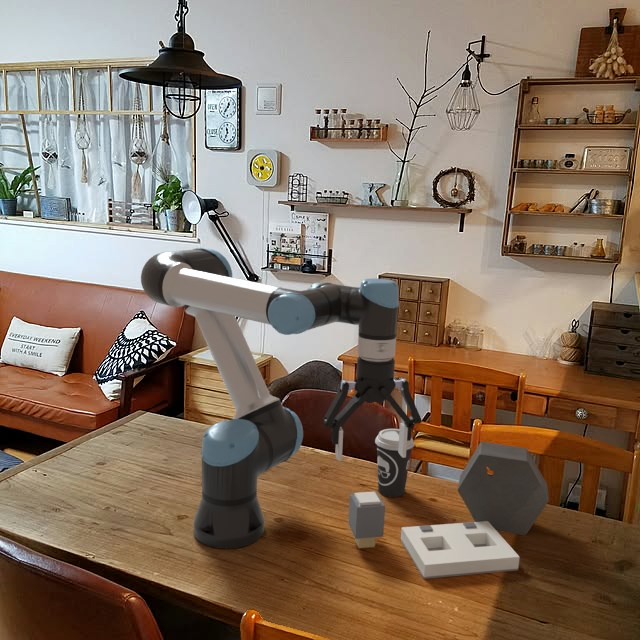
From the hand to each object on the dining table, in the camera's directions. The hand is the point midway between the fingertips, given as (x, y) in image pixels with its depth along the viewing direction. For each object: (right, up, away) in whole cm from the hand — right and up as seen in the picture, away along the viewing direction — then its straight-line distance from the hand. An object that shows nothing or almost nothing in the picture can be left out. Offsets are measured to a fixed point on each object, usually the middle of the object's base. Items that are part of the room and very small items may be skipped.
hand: (370, 456), depth 132 cm
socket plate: (+18, -21, +1) cm, 27 cm away
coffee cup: (+7, -15, +28) cm, 32 cm away
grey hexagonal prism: (+31, -18, +15) cm, 39 cm away
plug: (-1, -19, +4) cm, 20 cm away
